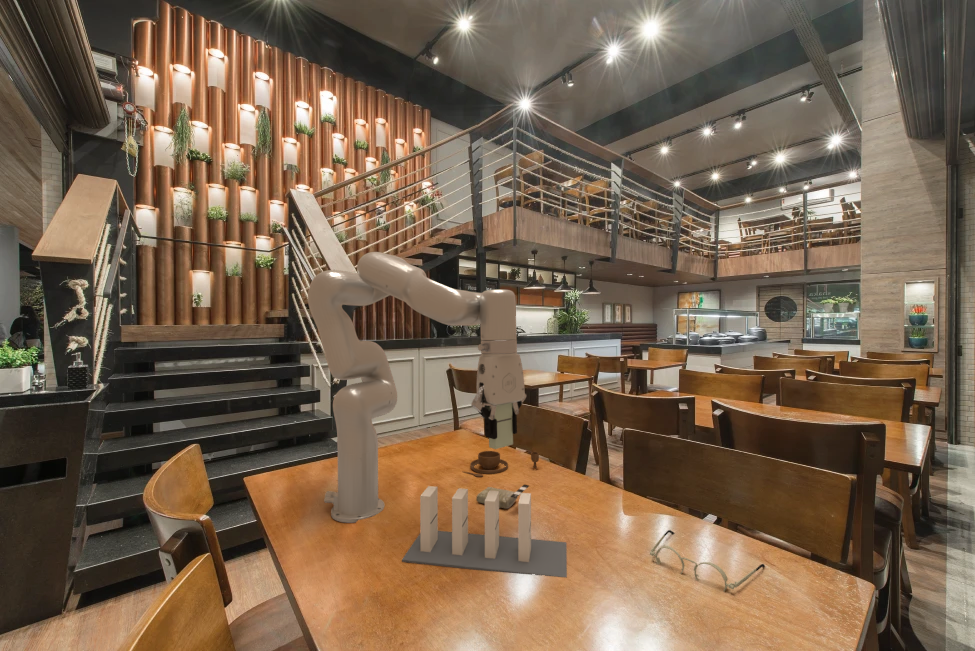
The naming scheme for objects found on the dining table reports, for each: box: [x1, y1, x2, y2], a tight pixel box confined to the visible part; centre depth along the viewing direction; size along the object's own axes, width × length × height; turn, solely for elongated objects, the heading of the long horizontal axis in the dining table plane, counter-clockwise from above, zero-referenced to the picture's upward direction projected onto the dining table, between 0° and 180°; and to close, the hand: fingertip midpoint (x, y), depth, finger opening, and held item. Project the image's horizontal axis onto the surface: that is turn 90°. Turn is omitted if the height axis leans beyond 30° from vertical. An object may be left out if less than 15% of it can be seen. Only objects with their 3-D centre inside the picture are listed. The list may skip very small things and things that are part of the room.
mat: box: [401, 530, 568, 578], centre depth 83 cm, size 31×12×1 cm, turn 79°
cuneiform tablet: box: [476, 484, 530, 510], centre depth 105 cm, size 7×4×12 cm
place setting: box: [461, 450, 540, 478], centre depth 130 cm, size 18×20×6 cm
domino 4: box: [517, 492, 532, 562], centre depth 81 cm, size 2×5×11 cm, turn 169°
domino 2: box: [451, 487, 469, 555], centre depth 84 cm, size 2×5×11 cm, turn 169°
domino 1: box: [419, 485, 439, 552], centre depth 85 cm, size 2×5×11 cm, turn 169°
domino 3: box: [484, 491, 500, 559], centre depth 83 cm, size 2×5×11 cm, turn 170°
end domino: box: [488, 403, 514, 450], centre depth 88 cm, size 2×5×11 cm, turn 131°
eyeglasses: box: [649, 529, 765, 593], centre depth 78 cm, size 17×15×5 cm
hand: (501, 434), depth 88 cm, fingers closed on end domino, 4 cm apart
